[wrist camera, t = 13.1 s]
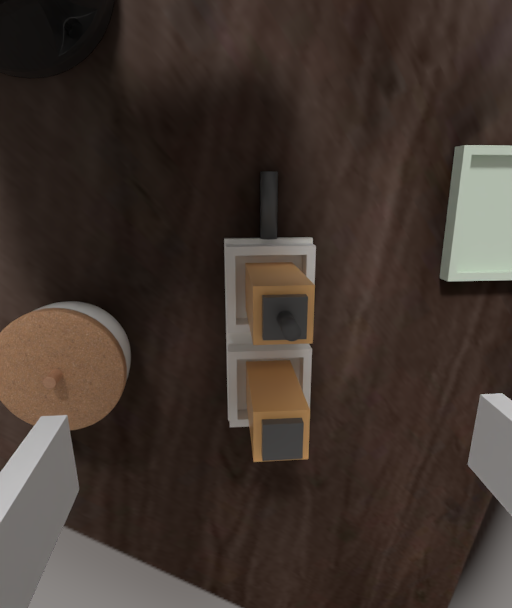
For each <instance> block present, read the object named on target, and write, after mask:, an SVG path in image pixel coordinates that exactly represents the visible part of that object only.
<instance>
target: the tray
mask: <svg viewBox="0 0 512 608" xmlns="http://www.w3.org/2000/svg"><path fill="white" fill-rule="evenodd" d="M440 279H443V280H445V281H497V280H512V146H495V145H463V146H458V147H455V151H454V160H453V168H452V177H451V185H450V194H449V202H448V210H447V219H446V227H445V236H444V244H443V253H442V261H441V270H440Z"/></svg>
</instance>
